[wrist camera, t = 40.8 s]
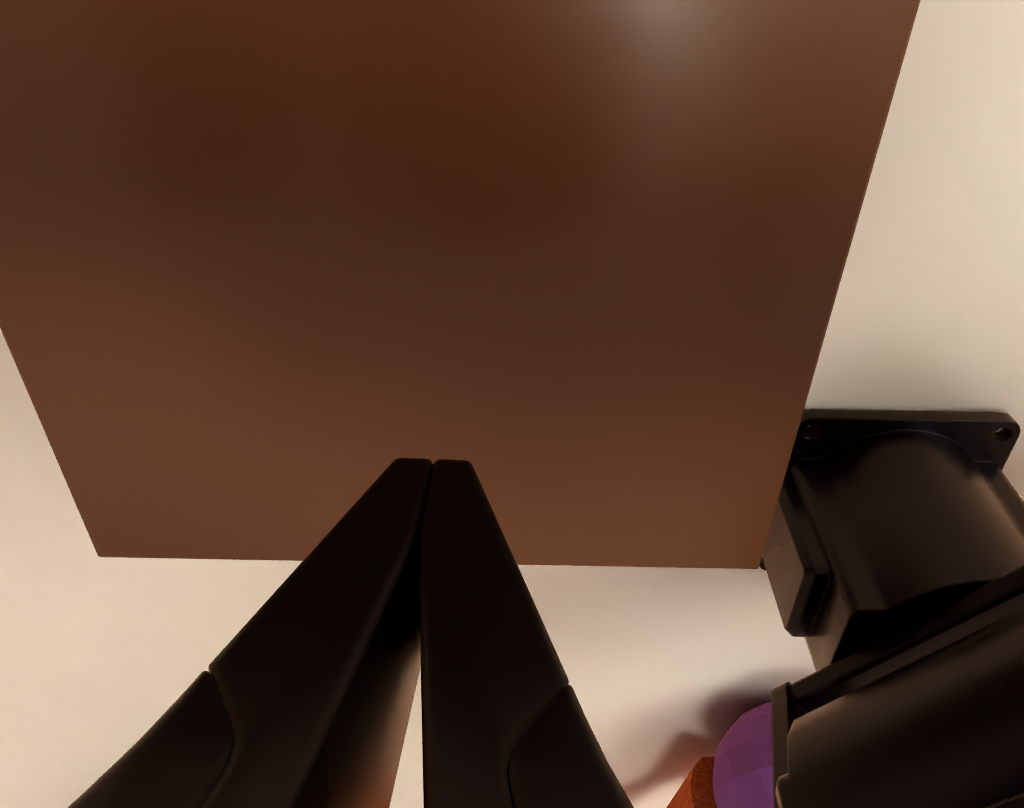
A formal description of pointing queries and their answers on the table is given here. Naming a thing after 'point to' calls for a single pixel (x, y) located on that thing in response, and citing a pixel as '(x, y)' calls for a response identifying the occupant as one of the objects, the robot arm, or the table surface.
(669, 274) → the cabinet
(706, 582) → the table surface
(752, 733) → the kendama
